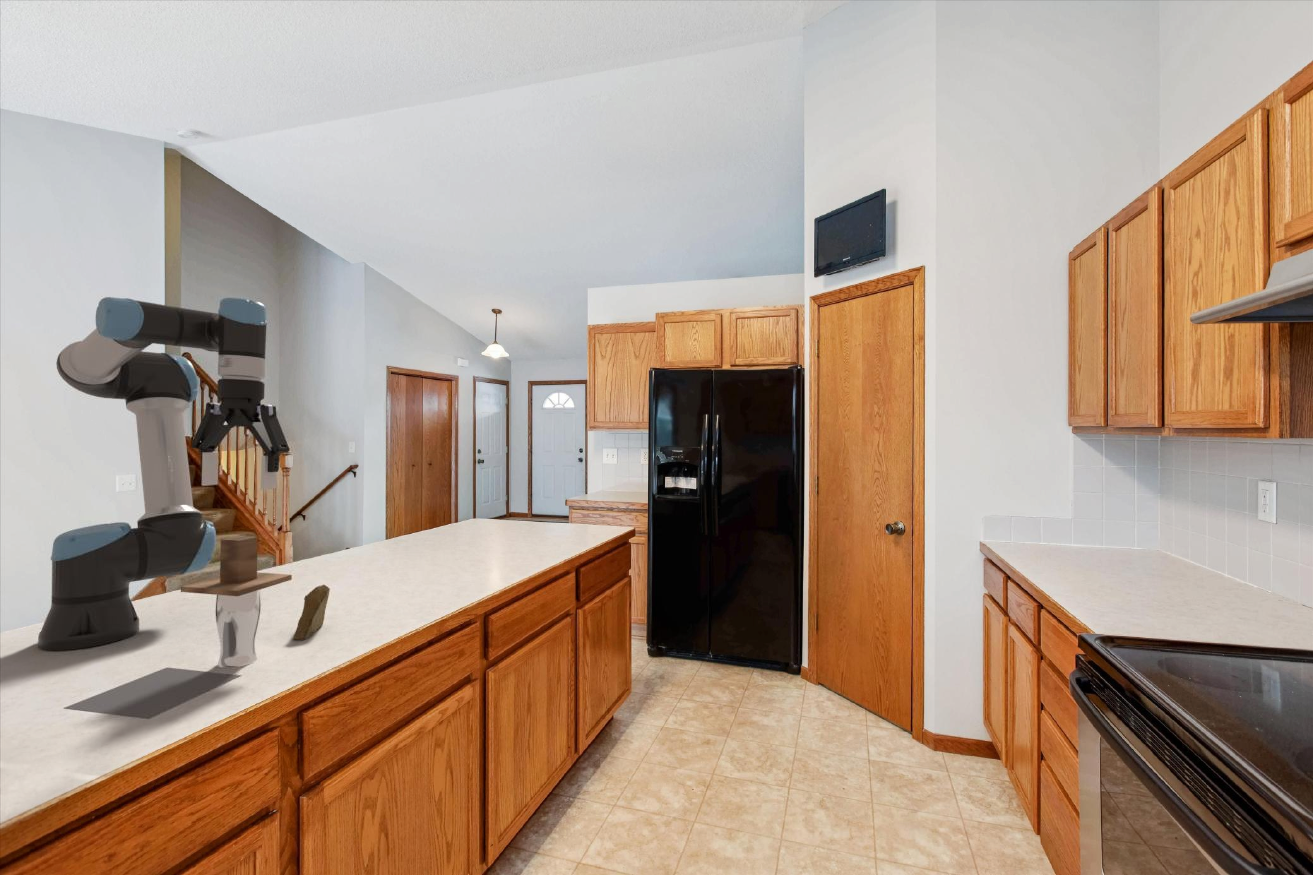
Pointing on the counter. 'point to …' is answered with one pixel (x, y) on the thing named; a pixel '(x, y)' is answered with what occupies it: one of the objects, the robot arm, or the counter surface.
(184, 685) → the mat
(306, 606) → the rock
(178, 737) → the counter surface
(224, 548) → the lid
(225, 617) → the beer glass
